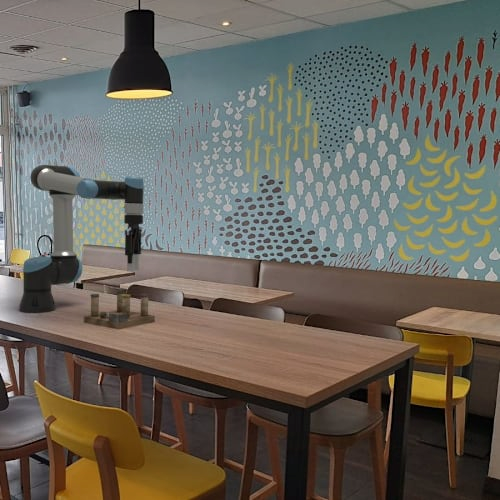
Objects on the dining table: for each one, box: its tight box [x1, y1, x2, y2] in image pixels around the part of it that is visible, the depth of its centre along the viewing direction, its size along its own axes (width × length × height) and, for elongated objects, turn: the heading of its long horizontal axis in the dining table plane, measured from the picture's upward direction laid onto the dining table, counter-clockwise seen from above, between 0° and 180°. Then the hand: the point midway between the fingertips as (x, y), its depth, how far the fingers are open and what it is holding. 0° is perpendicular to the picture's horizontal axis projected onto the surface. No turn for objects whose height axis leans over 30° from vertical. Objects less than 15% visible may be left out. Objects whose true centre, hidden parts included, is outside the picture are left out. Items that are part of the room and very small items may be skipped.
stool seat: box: [83, 290, 156, 330], centre depth 236 cm, size 20×20×11 cm
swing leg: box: [99, 293, 131, 318], centre depth 232 cm, size 12×3×9 cm, turn 106°
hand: (132, 270), depth 240 cm, fingers open, 5 cm apart
